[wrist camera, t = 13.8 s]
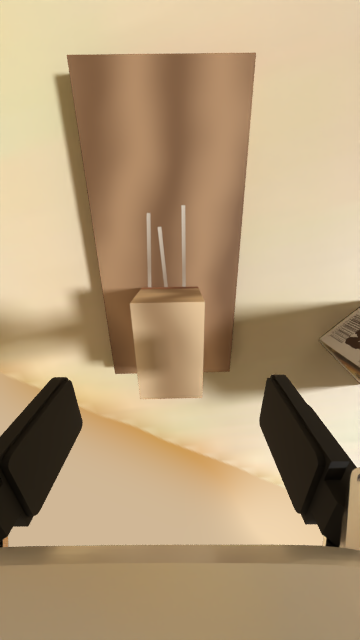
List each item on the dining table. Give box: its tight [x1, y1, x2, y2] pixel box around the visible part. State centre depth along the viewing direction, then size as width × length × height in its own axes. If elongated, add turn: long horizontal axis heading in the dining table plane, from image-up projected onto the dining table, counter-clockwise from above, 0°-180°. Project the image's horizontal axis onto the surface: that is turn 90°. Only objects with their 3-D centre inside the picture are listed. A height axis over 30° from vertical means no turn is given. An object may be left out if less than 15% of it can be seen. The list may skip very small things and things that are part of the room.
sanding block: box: [130, 287, 205, 399], centre depth 17 cm, size 5×8×5 cm, turn 1°
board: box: [67, 53, 256, 374], centre depth 18 cm, size 12×24×2 cm, turn 1°
